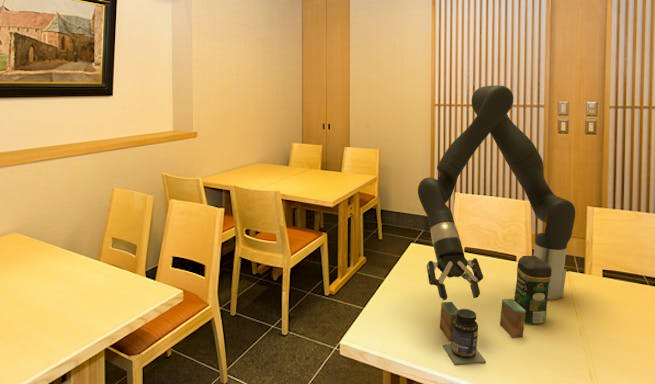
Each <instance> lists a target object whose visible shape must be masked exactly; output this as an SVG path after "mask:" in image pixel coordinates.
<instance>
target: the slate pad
mask: <svg viewBox="0 0 655 384" xmlns="http://www.w3.org/2000/svg"><path fill="white" fill-rule="evenodd" d="M451 345H452V343H447V344H446V343H445V344H442V348H443V349H444V351H445V353H447V355H448V357H449V359H450V360H451V363H453V365H454V366H463V365H476V364H477V365H481V364H486V363H487V361H486V359H485V358H484V357H483V355H482V354H481V353H480V352H479V350H478V349H477V348H476V355H475V356H474V357H472V358H461V357H458V356H457V355H455V354H454V353H453V352H452V350H451Z"/></svg>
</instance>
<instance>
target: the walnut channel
mask: <svg viewBox="0 0 655 384" xmlns="http://www.w3.org/2000/svg"><path fill="white" fill-rule="evenodd" d="M500 309H501V310H500V318H499V319H500V320H499V325H500V326H501V328H502V329H503V330H504V331H505V332H506V333H507V334H508V335H509V336H510V337H511V339H515V338H516V339H517V338H523V336H524V331H525V323H524V322H525V314H526V311H525V310H524V309H523V308H522V307H521V306H520V305H519V304H518V303H517V302H515V301H514V298H504V299H501V308H500ZM458 310H459V308H457V306H456V305H455V304H454V303H453V302H452V301H441V304H440V318H439V319H440V322H439V329H440V331H441V332H442V334H443V335H444V336H445V338H446V340H447V341H448V342H449V343H450V342H451V343H452V331H453V322H454V320H455V319H456V318H457V311H458Z"/></svg>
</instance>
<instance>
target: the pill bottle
mask: <svg viewBox="0 0 655 384" xmlns="http://www.w3.org/2000/svg"><path fill="white" fill-rule="evenodd" d="M476 320H477V313H476V312H475V311H474V310H472V309H469V308H460V309H459V308H458V311H457V318H456V319H455V320H454V322H453V331H452V342H451V344H452V345H451V350H452V352H453V353H454V354H455V355H457V356H458V357H461V358H472V357H474V356H475V355H476V349H477V346H478V336H479V335H478V334H479V333H478V332H479V324H478V322H477V321H476Z"/></svg>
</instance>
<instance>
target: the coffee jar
mask: <svg viewBox="0 0 655 384" xmlns="http://www.w3.org/2000/svg"><path fill="white" fill-rule="evenodd" d="M551 271H552V269H551V267H550V266H549V265H548V264H547V263H546V262H544V261H543V260H541V259H539V258H538V257H536V256H534V255H522V256H521V257H520V258H519V259H518V261H517V267H516V283H515V291H514V298H513V300H514V301H515V302H517V303H518V304H519V305H520V306H521V307H522V308H523V309H524V310H525V311H526V314H525V322H524V324H525V323H526V324H530V325H541V324H544V323H545V322H546V317H547V309H548V308H547V306H548V299H547V297H548V287H549V282H550V279H551Z"/></svg>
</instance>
